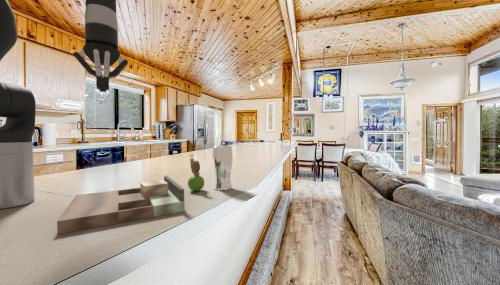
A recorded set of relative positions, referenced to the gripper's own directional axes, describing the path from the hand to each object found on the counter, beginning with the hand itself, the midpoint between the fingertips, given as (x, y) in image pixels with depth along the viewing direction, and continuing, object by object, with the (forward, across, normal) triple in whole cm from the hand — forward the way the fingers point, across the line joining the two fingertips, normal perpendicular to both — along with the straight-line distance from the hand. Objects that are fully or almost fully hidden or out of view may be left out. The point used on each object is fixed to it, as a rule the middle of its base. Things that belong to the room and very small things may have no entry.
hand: (103, 91), depth 61 cm
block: (+28, +12, -7) cm, 32 cm away
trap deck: (+31, +5, -8) cm, 33 cm away
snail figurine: (+31, +26, 0) cm, 40 cm away
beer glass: (+31, +35, -2) cm, 47 cm away
